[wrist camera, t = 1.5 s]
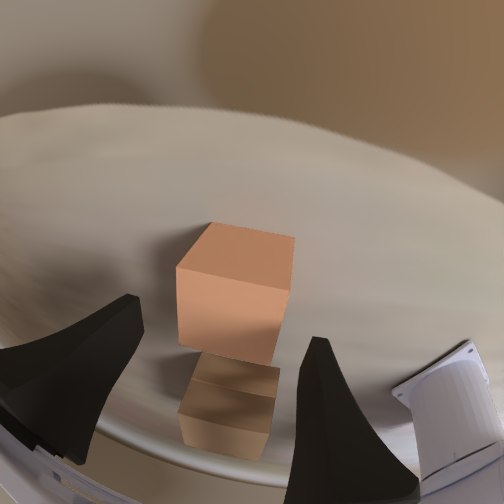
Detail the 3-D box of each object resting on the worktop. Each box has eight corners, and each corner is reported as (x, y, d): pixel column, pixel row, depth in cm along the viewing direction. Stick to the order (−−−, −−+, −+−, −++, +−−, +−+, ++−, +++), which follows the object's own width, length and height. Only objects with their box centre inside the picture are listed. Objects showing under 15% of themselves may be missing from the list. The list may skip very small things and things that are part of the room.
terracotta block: (294, 237, 15) (290, 290, 10) (279, 303, 17) (269, 365, 12) (212, 221, 15) (176, 267, 11) (208, 288, 17) (179, 344, 13)
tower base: (280, 365, 20) (276, 397, 17) (267, 404, 23) (262, 431, 20) (203, 348, 20) (191, 377, 18) (203, 389, 23) (194, 415, 21)
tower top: (275, 397, 17) (269, 434, 15) (263, 431, 20) (257, 461, 17) (190, 379, 18) (177, 412, 15) (194, 416, 21) (184, 444, 18)
